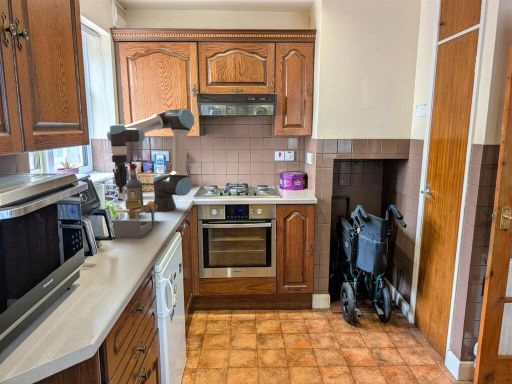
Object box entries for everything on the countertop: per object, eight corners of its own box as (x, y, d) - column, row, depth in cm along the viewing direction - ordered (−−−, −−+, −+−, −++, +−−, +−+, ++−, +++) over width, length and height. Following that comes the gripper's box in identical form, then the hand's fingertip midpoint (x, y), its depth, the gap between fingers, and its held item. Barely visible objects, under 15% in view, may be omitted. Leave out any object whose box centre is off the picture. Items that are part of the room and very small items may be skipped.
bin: (124, 229, 192) (123, 213, 191) (152, 229, 191) (151, 213, 190) (111, 238, 178) (109, 220, 176) (141, 238, 176) (139, 220, 175)
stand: (137, 222, 206) (136, 206, 204) (158, 222, 205) (157, 206, 203) (132, 226, 198) (130, 209, 197) (153, 226, 197) (152, 209, 196)
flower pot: (126, 215, 225) (124, 201, 223) (140, 213, 228) (139, 199, 226) (126, 218, 217) (125, 203, 215) (141, 216, 220) (140, 202, 218)
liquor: (130, 207, 247) (127, 163, 242) (144, 206, 248) (141, 163, 243) (126, 210, 238) (123, 164, 233) (141, 209, 239) (137, 164, 234)
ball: (150, 206, 212) (150, 200, 212) (155, 207, 211) (155, 200, 210) (145, 207, 209) (145, 200, 208) (151, 208, 207) (150, 201, 207)
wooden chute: (132, 212, 213) (131, 203, 213) (158, 212, 212) (158, 203, 212) (112, 216, 189) (112, 207, 189) (142, 216, 188) (142, 207, 188)
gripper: (118, 153, 196) (121, 196, 200) (106, 155, 183) (109, 200, 187) (131, 153, 196) (134, 196, 200) (120, 155, 183) (123, 201, 187)
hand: (122, 198), depth 193 cm, fingers closed
